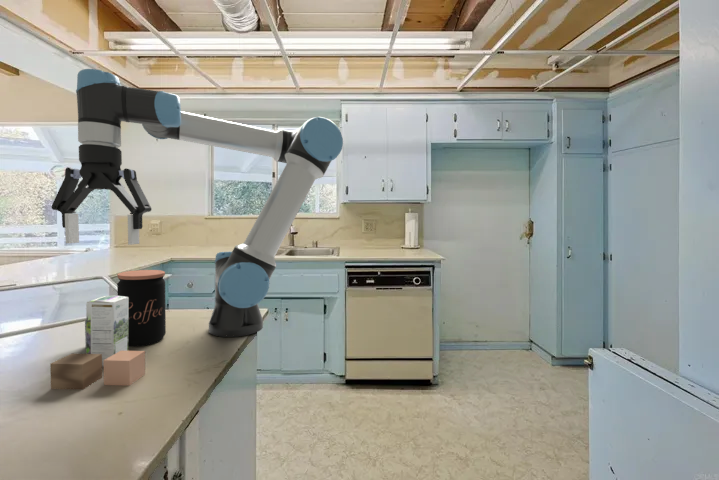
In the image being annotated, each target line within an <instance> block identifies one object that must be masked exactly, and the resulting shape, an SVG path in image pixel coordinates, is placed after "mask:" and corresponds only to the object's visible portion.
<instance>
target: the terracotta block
mask: <svg viewBox="0 0 719 480" xmlns="http://www.w3.org/2000/svg"><path fill="white" fill-rule="evenodd" d="M145 375H146V351H145V350H128V351H119V352H117V353H116V354H114V355H112V356H110V357H108V358H107V359H105V360H104V367H103V385H104V386H131V385H132V384H134V383H135V382H137V381H138V380H139V379H140V378H142V377H143V376H145ZM136 380H137V381H136ZM133 382H134V383H133Z"/></svg>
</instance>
